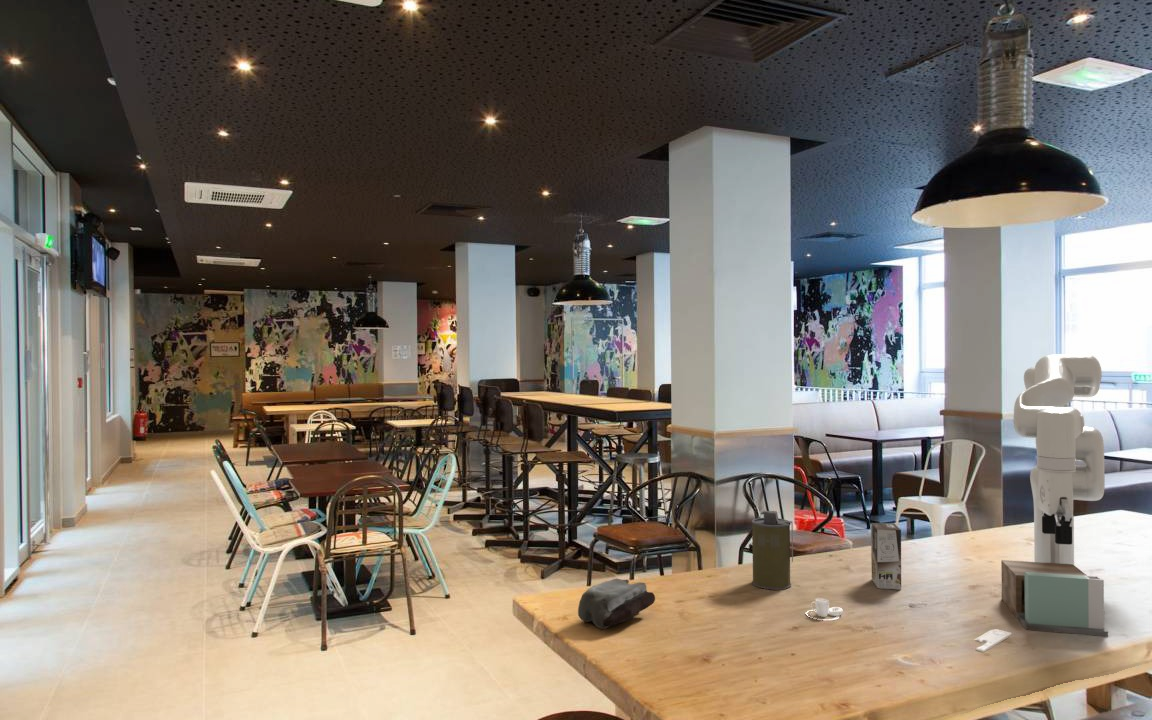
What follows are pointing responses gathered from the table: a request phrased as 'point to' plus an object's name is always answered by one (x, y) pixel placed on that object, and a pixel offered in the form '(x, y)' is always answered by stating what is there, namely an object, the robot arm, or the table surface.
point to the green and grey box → (1064, 600)
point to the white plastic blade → (991, 639)
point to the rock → (613, 602)
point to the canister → (771, 551)
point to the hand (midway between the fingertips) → (1056, 538)
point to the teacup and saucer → (825, 609)
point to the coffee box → (886, 555)
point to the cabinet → (1016, 592)
